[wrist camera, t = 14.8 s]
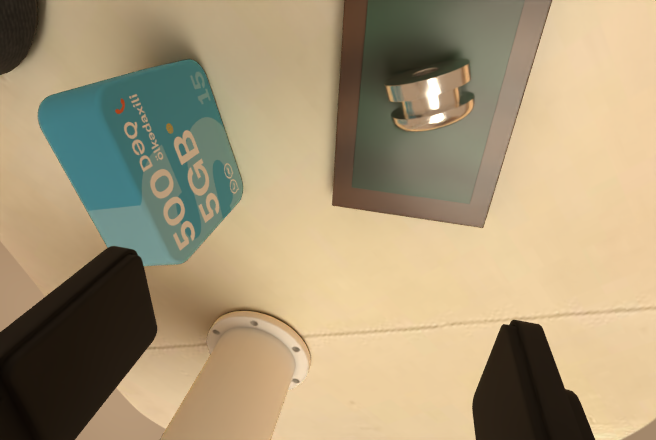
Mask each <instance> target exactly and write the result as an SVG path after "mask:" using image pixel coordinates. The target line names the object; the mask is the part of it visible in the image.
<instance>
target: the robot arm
mask: <svg viewBox="0 0 656 440" xmlns="http://www.w3.org/2000/svg"><path fill="white" fill-rule="evenodd" d="M156 333H157V324H156V319H155V315H154V310H153V306H152V302H151V297H150V293H149V288H148V284H147V279H146V275H145V270H144V266H143V261H142V258H141V257H140V256H138V254H137V252H136V251H135V250H133V249H129V248H124V247H118V246H110V247H109V248H107V249H106V250H104V251H103V252H102V253H101V254H99V255H98V256H97V257H95V258H94V259H93V260H92V261H90V262H89V263H88V264H87V265H85V266H84V267H83V268H81V269H80V270H79V271H78V272H76V273H75V274H74V275H73V276H71V277H70V278H69V279H68V280H66V281H65V282H64V283H62V284H61V285H60V286H59V287H57V288H56V289H55V290H54V291H52V292H51V293H50V294H48V295H47V296H46V297H45V298H43V299H42V300H41V301H40V302H38V303H37V304H36V305H35V306H33V307H32V308H31V309H29V310H28V311H27V312H26V313H24V314H23V315H22V316H20V317H19V318H18V319H17V320H15V321H14V322H13V323H12V324H10V325H9V326H8V327H7V328H5V329H4V330H3V331H1V332H0V440H75V439H76V438H77V436H78V435H79V434H80V432H81V431H82V430H83V429H84V427H85V426H86V425H87V424H88V422H89V421H90V420H91V418H92V417H93V416H94V415H95V413H96V412H97V411H98V410H99V408H100V407H101V406H102V405H103V403H104V402H105V401H106V399H107V398H108V397H109V396H110V395H111V393H112V392H113V391H114V390H115V388H116V387H117V386H118V384H119V383H120V382H121V381H122V379H123V378H124V377H125V376H126V374H127V373H128V372H129V371H130V369H131V368H132V367H133V366H134V364H135V363H136V362H137V360H138V359H139V358H140V357H141V355H142V354H143V353H144V352H145V350H146V349H147V348H148V347H149V345H150V344H151V343H152V341H153V340H154V338H155V336H156ZM207 347H208V351H209V353H210V356H209V358H208V360H207V361H206V363H205V365H204V366H203V368H202V370H201V371H200V373H199V375H198V376H197V378H196V380H195V381H194V383H193V385H192V386H191V388H190V390H189V391H188V393H187V395H186V396H185V398H184V400H183V401H182V403H181V405H180V407H179V408H178V410H177V412H176V413H175V415H174V417H173V418H172V420H171V422H170V423H169V425H168V427H167V428H166V430H165V432H164V433H163V435H162V437H161V439H160V440H271V438H272V435H273V432H274V429H275V426H276V423H277V420H278V418H279V415H280V412H281V409H282V406H283V403H284V400H285V397H286V395H287V392H288V390H290V389H293V388H295V387H297V386H299V385H300V384H301V383H302V382H303V381H304V380H305V379H306V377H307V375H308V372H309V368H310V360H311V358H310V354H309V351H308V348H307V346H306V344H305V343H304V341H303V340H302V339H301V337H300V336H299V335H298V334H297V333H296V332H295V331H294V330H293V329H292V328H290V327H289V326H287V325H286V324H285V323H283V322H281V321H279V320H278V319H276V318H273V317H271V316H268V315H266V314H262V313H258V312H252V311H235V312H231V313H227V314H225V315H223V316H221V317H220V318H218V319H217V320H216V321H215V322H214V324H213V325H212V327H211V328H210V330H209V332H208V335H207ZM472 409H473V419H474V427H475V435H476V440H595V438H594V436H593V433H592V431H591V428H590V425H589V423H588V420H587V418H586V415H585V413H584V410H583V408H582V405H581V403H580V401H579V399H578V397H577V395H576V394H575V393H574V392H573V391H570V390H566V389H565V388H564V385H563V382H562V380H561V377H560V374H559V371H558V369H557V366H556V363H555V361H554V358H553V355H552V352H551V350H550V347H549V344H548V341H547V339H546V336H545V333H544V331H543V328H542V326H540V325H539V324H534V323H529V322H523V321H518V320H512V321H511V323H510V324H509V325H505V324H503V325H502V326H501V328H500V331H499V333H498V336H497V338H496V341H495V344H494V346H493V349H492V351H491V354H490V356H489V359H488V361H487V364H486V366H485V369H484V371H483V374H482V377H481V379H480V382H479V384H478V387H477V389H476V392H475V394H474V398H473V406H472Z"/></svg>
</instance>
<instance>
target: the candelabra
mask: <svg viewBox="0 0 656 440" xmlns="http://www.w3.org/2000/svg"><path fill="white" fill-rule="evenodd" d="M37 25H38V18H37V0H0V75H2V74H4V73H7V72H10V71H11V70H12V69H14V68H15V67H17V66H18V65H19V64H20V63H21V62H22V60H23V59H24V58H25V57H26V55H27V53H28V51H29V49H30V47H31V45H32V41H33V38H34V35H35V31H36V28H37Z"/></svg>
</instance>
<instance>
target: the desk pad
mask: <svg viewBox="0 0 656 440" xmlns="http://www.w3.org/2000/svg"><path fill="white" fill-rule="evenodd" d="M551 2H552V0H345V2H344V19H343V35H342V51H341V68H340V84H339V101H338V117H337V134H336V150H335V167H334V183H333V199H332V205H333V206H339V207H346V208H353V209H360V210H366V211H373V212H380V213H386V214H393V215H400V216H406V217H413V218H420V219H427V220H433V221H440V222H447V223H453V224H460V225H467V226H474V227H480V228H483V227H484V224H485V220H486V217H487V214H488V211H489V207H490V204H491V201H492V197H493V194H494V191H495V187H496V184H497V181H498V178H499V174H500V171H501V168H502V164H503V161H504V158H505V154H506V151H507V148H508V144H509V141H510V138H511V135H512V131H513V128H514V125H515V121H516V118H517V115H518V111H519V108H520V105H521V102H522V98H523V95H524V92H525V88H526V85H527V82H528V78H529V75H530V72H531V68H532V65H533V62H534V59H535V55H536V52H537V49H538V45H539V42H540V39H541V35H542V32H543V29H544V26H545V22H546V19H547V16H548V12H549V9H550V6H551ZM460 58H466V59H469V60H470V62H471V70H472V79H471V80H470V81H469V82H468V83H466V84H464V85H462V86H460V87H461V91H469V92H472V93H474V95H475V106H474V109H473V111H472V112H471V113H470V114H469V115H468V116H467V117H466V118H464V119H462V120H461V121H459V122H457V123H454V124H452V125H449V126H446V127H443V128H440V129H436V130H431V131H424V132H405V131H401V130H399V129H397V128H396V127H395V126H394V125H393V123H392V119H391V113H392V112H393V111H394V110H395V109H396V108H398V107H400V102H391V101H388V100H387V97H386V92H385V88H384V82H385V81H386V80H388V79H389V78H391V77H393V76H395V75H398V74H400V73H402V72H405V71H408V70H411V69H414V68H417V67H420V66H424V65H427V64H431V63H435V62H440V61H445V60H451V59H460Z"/></svg>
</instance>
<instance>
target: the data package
mask: <svg viewBox="0 0 656 440" xmlns="http://www.w3.org/2000/svg"><path fill="white" fill-rule="evenodd" d="M38 121H39V125H40V128H41V130H42V132H43V134H44V136H45V137H46V139H47V141H48V143H49V144H50V146H51V148H52V150H53V152H54V153H55V155H56V157H57V159H58V160H59V162H60V164H61V166H62V168H63V169H64V171H65V173H66V175H67V176H68V178H69V180H70V182H71V184H72V185H73V187H74V189H75V191H76V192H77V194H78V196H79V198H80V199H81V201H82V203H83V205H84V207H85V208H86V210H87V212H88V214H89V215H90V217H91V219H92V221H93V223H94V224H95V226H96V228H97V230H98V231H99V233H100V235H101V237H102V239H103V240H104V242H105V244H106V246H107V247H108V248H109V247H110V246H118V247H124V248H129V249H133V250H135V251H136V252H137V254H138V256H140V257H141V258H142V261H143V266H155V265H175V264H182V263H184V262H186V261H187V260H188V259H189V258H190V257H191V255H192V254H193V253H194V252H195V251H196V250H197V249H198V248H199V246H200V245H201V244H202V243H203V242H204V241H205V240H206V239H207V237H208V236H209V235H210V234H211V233H212V232H213V231H214V230H215V228H216V227H217V226H218V225H219V224H220V223H221V222H222V221H223V219H224V218H225V217H226V216H227V215H228V214H229V213H230V211H231V210H232V209H233V208H234V207H235V206H236V205H237V204H238V202H239V201H240V200H241V197H242V193H243V184H242V179H241V176H240V173H239V170H238V167H237V164H236V161H235V159H234V156H233V153H232V150H231V147H230V144H229V141H228V138H227V135H226V132H225V129H224V126H223V123H222V120H221V117H220V114H219V111H218V108H217V105H216V103H215V100H214V97H213V94H212V91H211V88H210V85H209V82H208V79H207V76H206V74H205V72H204V70H203V69H202V67H201V66H200V65H199V64H198V63H197V62H196V61H194V60H191V59H186V60H182V61H178V62H173V63H169V64H165V65H160V66H156V67H151V68H147V69H143V70H139V71H136V72H132V73H128V74H125V75H121V76H118V77H114V78H111V79H107V80H103V81H100V82H96V83H93V84H89V85H85V86H82V87H78V88H75V89H71V90H68V91H64V92H60V93H57V94H53V95H50V96H48V97H46V98H45V99H44V100H43V101H42V102H41V104H40V106H39V109H38Z"/></svg>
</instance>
